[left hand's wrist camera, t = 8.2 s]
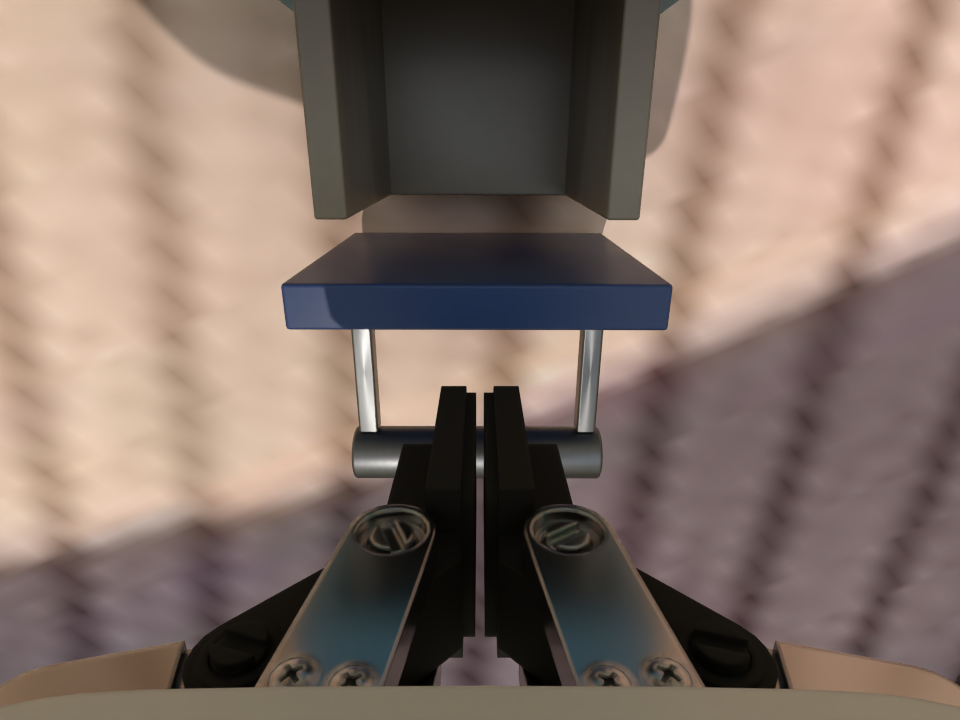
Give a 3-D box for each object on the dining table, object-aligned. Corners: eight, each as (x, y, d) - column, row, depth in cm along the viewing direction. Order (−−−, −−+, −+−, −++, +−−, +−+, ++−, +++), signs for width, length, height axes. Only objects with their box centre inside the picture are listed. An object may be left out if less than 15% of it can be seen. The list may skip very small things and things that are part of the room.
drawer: (589, 396, 25) (644, 522, 16) (366, 396, 25) (309, 521, 16) (629, -124, 18) (754, -348, 10) (326, -125, 18) (199, -350, 10)
